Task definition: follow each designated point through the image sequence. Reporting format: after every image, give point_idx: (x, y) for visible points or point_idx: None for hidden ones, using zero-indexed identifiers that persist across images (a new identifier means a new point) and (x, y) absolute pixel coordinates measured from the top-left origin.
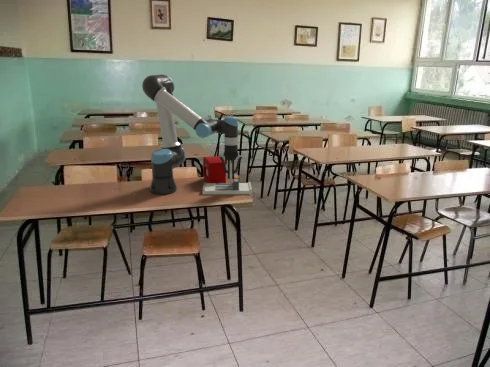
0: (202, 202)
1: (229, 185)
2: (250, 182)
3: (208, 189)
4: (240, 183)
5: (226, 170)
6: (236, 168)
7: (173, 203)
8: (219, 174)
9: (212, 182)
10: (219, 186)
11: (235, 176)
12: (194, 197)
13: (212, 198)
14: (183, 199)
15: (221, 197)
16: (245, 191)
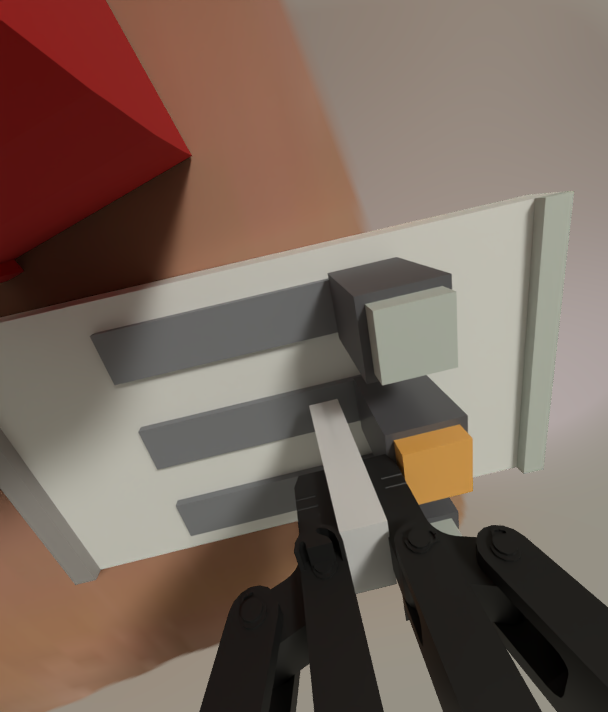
0: (179, 650)
1: (296, 361)
2: (571, 212)
3: (114, 528)
4: (426, 246)
5: (294, 687)
6: (570, 706)
7: (2, 704)
8: (14, 210)
9: (3, 257)
10: (196, 447)
11: (424, 454)
12: (71, 604)
13: (217, 586)
14: (16, 649)
15: (278, 556)
16: (473, 472)
